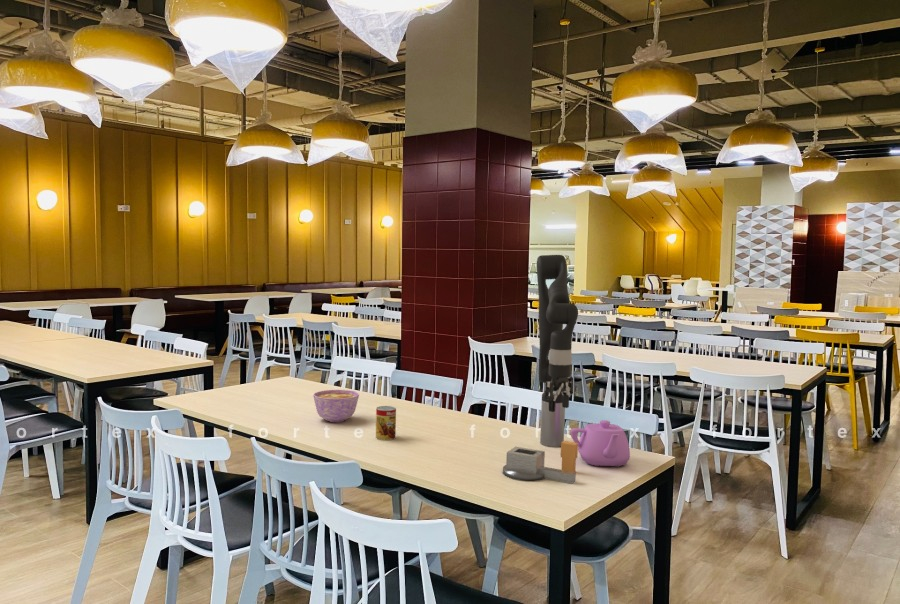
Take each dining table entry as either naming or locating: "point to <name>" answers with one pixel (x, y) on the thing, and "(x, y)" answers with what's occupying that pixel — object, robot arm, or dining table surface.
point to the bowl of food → (336, 404)
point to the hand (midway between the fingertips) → (558, 409)
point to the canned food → (385, 422)
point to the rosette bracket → (533, 467)
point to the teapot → (602, 444)
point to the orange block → (569, 455)
